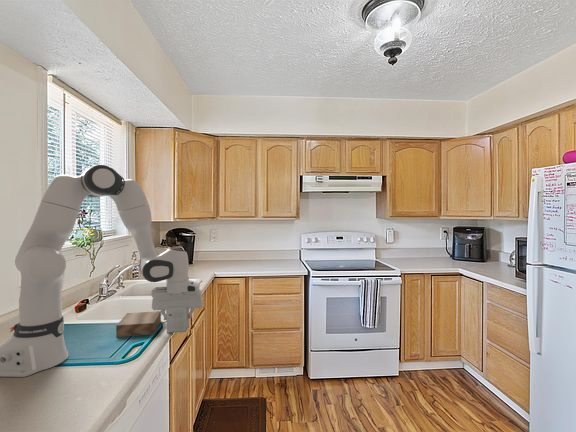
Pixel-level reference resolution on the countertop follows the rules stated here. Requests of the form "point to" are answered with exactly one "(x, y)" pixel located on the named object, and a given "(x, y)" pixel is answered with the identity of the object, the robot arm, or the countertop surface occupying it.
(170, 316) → the small box
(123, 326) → the walnut block
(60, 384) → the countertop surface
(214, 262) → the countertop surface
